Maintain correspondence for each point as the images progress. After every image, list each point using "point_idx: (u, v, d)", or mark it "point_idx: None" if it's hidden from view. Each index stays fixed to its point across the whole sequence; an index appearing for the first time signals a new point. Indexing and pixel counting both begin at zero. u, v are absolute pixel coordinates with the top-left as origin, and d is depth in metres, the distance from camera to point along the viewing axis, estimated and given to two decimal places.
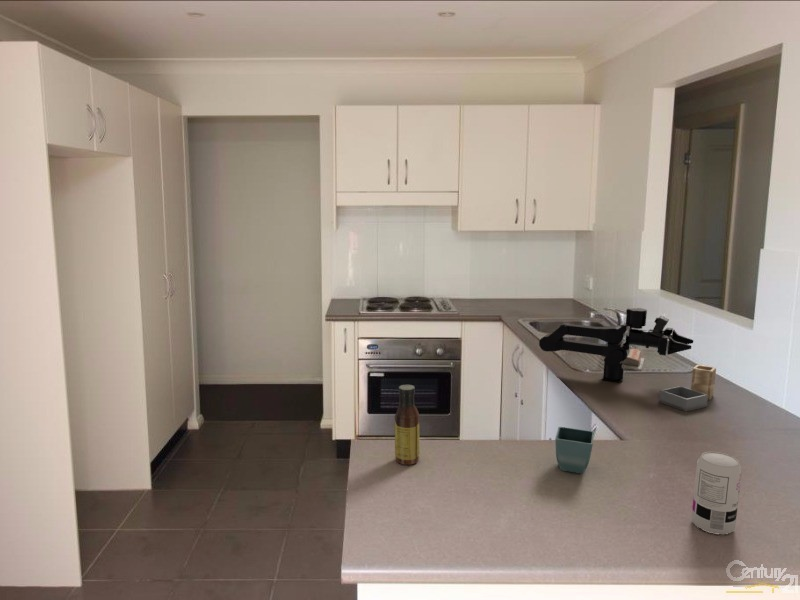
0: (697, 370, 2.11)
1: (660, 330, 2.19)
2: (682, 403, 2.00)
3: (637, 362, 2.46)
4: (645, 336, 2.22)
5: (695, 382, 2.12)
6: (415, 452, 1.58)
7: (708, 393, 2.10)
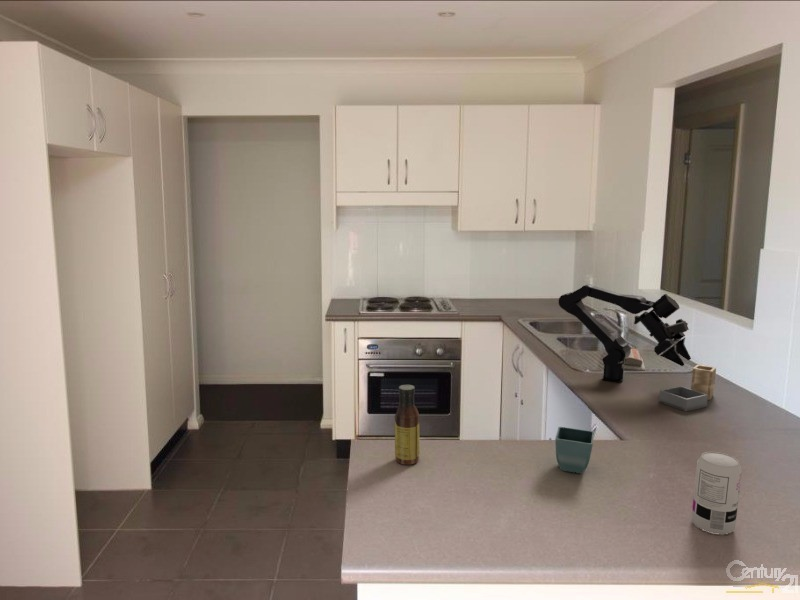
0: (697, 370, 2.11)
1: (673, 332, 2.15)
2: (682, 403, 2.00)
3: (640, 362, 2.46)
4: (657, 326, 2.17)
5: (695, 382, 2.12)
6: (415, 452, 1.58)
7: (708, 393, 2.10)
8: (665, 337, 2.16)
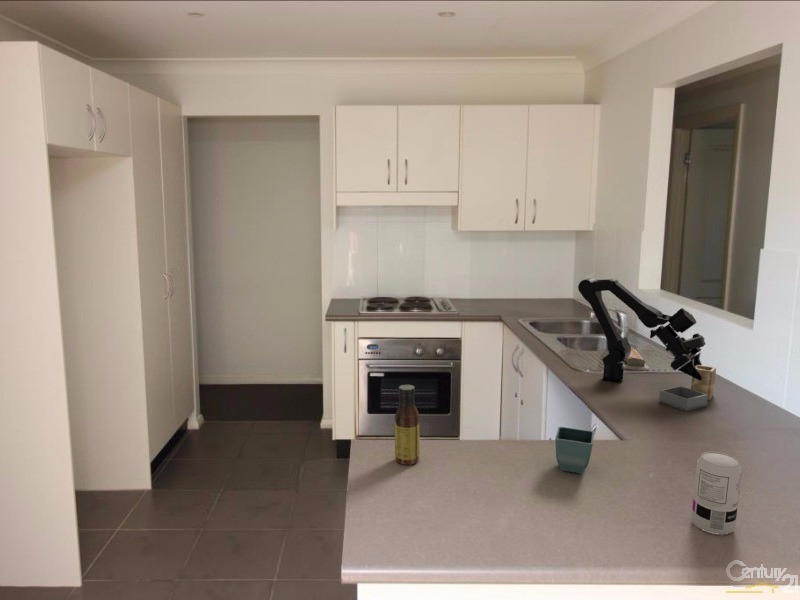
0: (697, 370, 2.11)
1: (690, 347, 2.12)
2: (682, 403, 2.00)
3: (643, 362, 2.46)
4: (674, 341, 2.15)
5: (695, 382, 2.12)
6: (415, 452, 1.58)
7: (708, 393, 2.10)
8: (682, 352, 2.13)
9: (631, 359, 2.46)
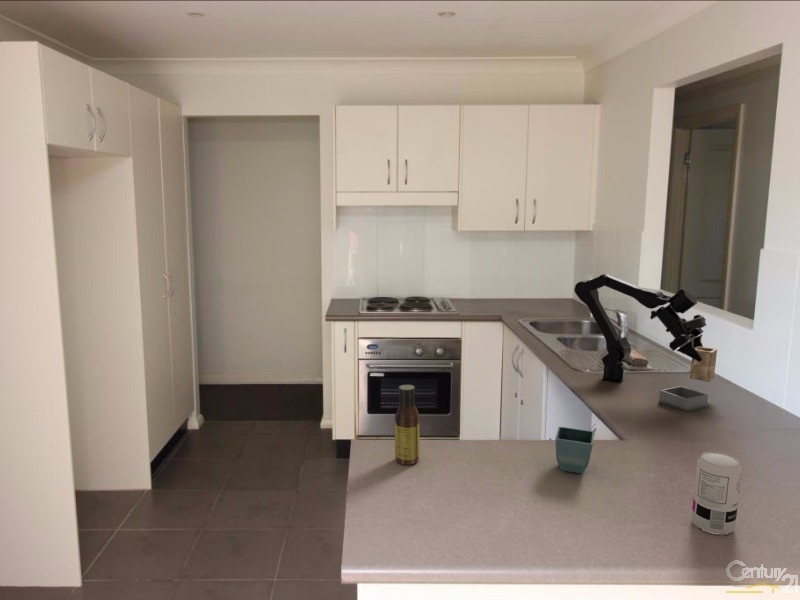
0: (697, 351, 2.09)
1: (690, 328, 2.10)
2: (682, 403, 2.00)
3: (647, 362, 2.46)
4: (674, 322, 2.13)
5: (695, 363, 2.09)
6: (415, 452, 1.58)
7: (708, 374, 2.07)
8: (681, 333, 2.11)
9: (635, 359, 2.45)
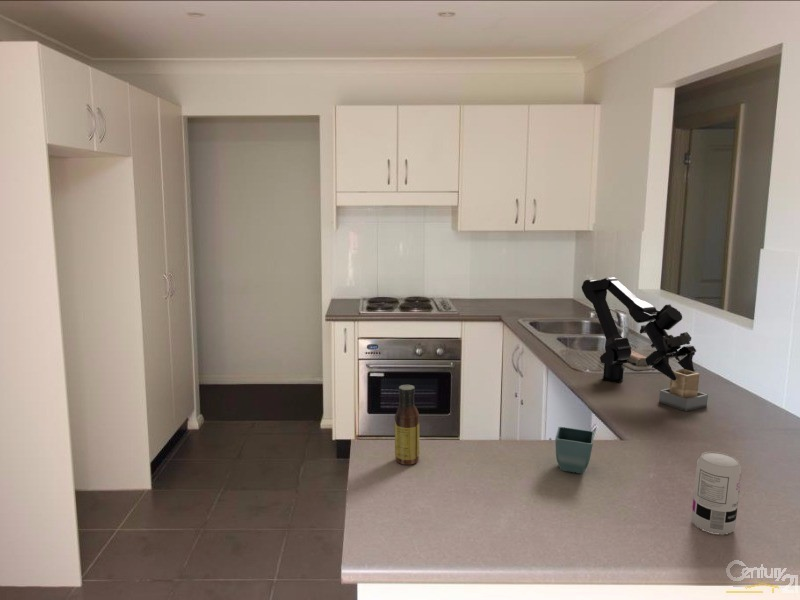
0: (674, 373, 2.04)
1: (670, 345, 2.05)
2: (682, 403, 2.00)
3: None
4: (657, 337, 2.10)
5: (673, 386, 2.05)
6: (415, 452, 1.58)
7: None
8: (663, 349, 2.08)
9: (640, 359, 2.45)
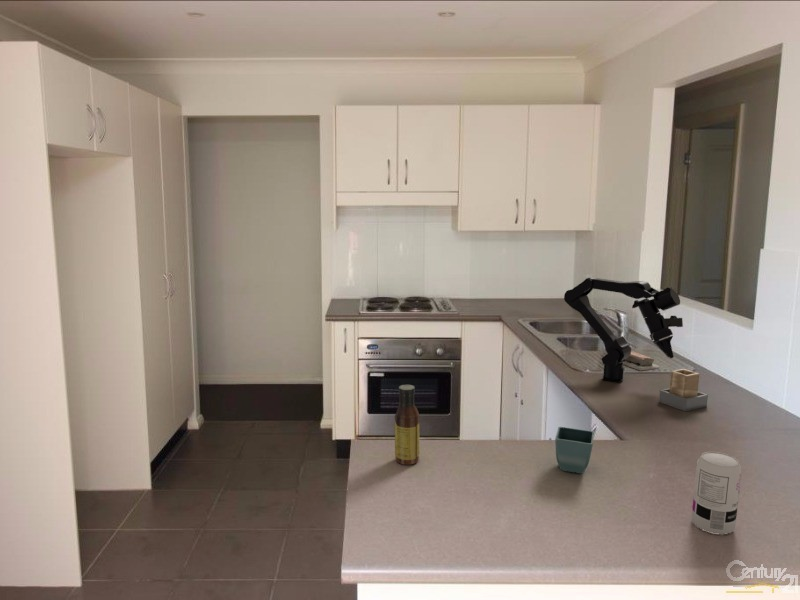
0: (674, 373, 2.04)
1: (670, 325, 2.15)
2: (682, 403, 2.00)
3: (652, 361, 2.48)
4: (656, 315, 2.16)
5: (673, 386, 2.05)
6: (415, 452, 1.58)
7: None
8: (661, 327, 2.16)
9: (644, 359, 2.45)
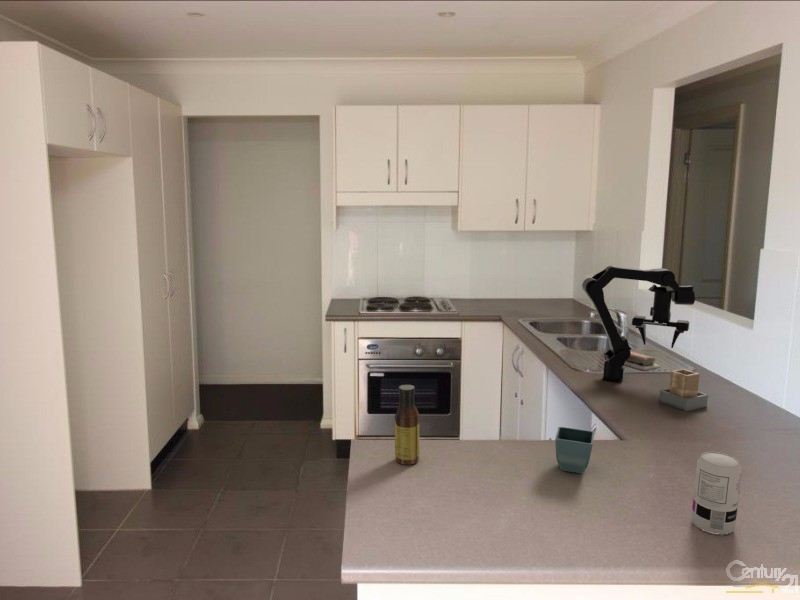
0: (674, 373, 2.04)
1: None
2: (682, 403, 2.00)
3: (654, 360, 2.49)
4: None
5: (673, 386, 2.05)
6: (415, 452, 1.58)
7: None
8: None
9: (647, 359, 2.46)
